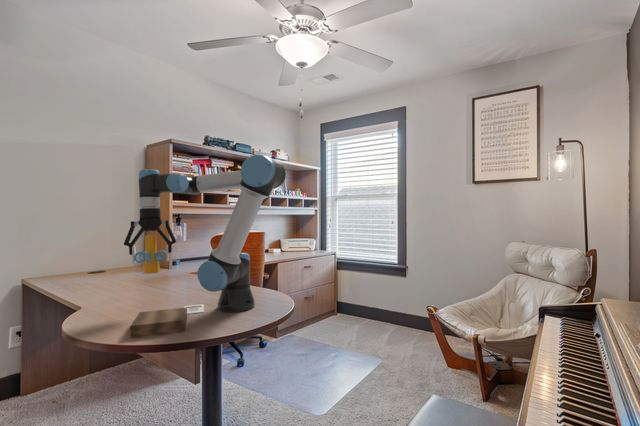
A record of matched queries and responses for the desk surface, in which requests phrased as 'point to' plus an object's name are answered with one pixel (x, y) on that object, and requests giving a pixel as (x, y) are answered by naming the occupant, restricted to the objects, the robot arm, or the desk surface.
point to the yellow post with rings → (150, 256)
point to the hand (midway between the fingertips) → (151, 262)
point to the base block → (159, 322)
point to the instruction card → (195, 309)
